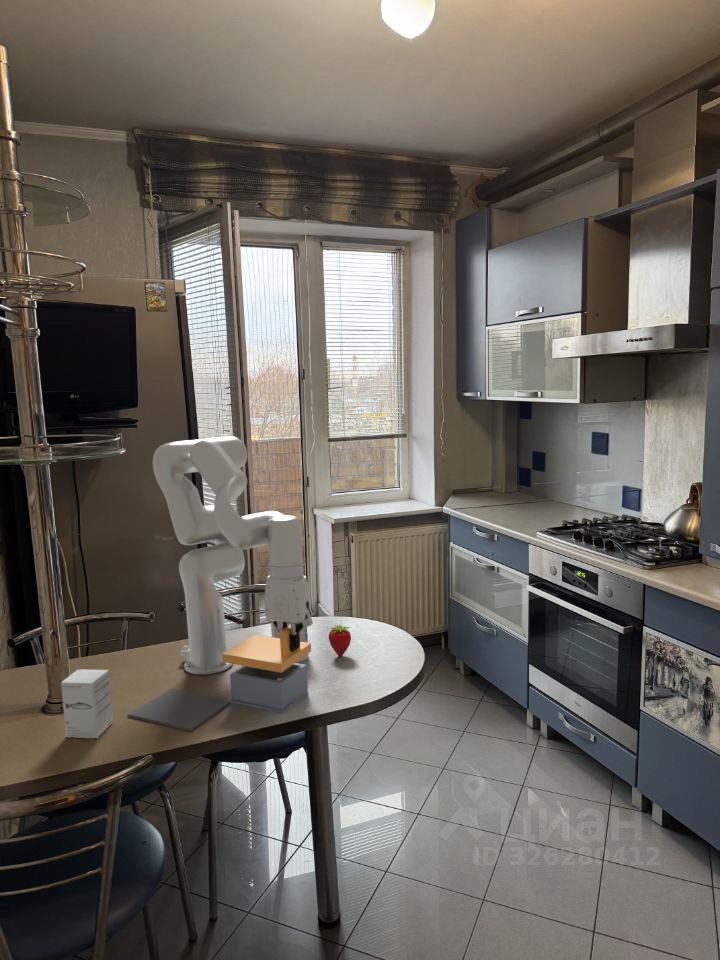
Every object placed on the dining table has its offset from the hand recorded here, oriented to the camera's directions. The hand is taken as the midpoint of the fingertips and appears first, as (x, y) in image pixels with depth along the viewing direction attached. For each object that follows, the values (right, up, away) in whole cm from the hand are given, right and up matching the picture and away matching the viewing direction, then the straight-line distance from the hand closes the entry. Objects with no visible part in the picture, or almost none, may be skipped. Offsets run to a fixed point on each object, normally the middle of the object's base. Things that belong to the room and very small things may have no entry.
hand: (290, 648), depth 156 cm
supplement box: (-43, -16, -8) cm, 46 cm away
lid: (-6, -2, +3) cm, 7 cm away
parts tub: (-5, -13, +5) cm, 15 cm away
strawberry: (+11, -9, +28) cm, 31 cm away
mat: (-25, -14, 0) cm, 29 cm away
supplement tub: (-3, -10, +28) cm, 29 cm away
